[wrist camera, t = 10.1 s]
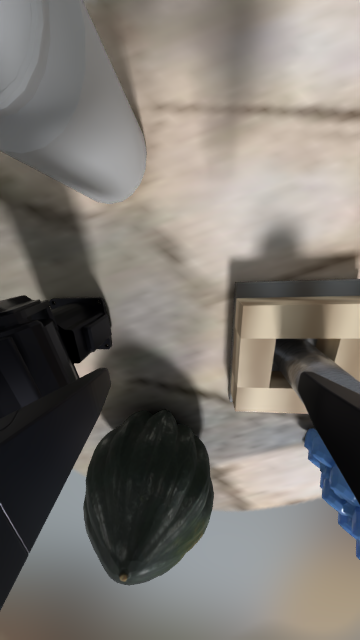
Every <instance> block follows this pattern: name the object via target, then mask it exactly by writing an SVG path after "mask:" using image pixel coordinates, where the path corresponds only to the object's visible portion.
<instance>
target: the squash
mask: <svg viewBox="0 0 360 640" xmlns="http://www.w3.org/2000/svg"><path fill="white" fill-rule="evenodd" d="M213 498H214V492H213V485H212V481H211V478H210V465H209V457H208V453H207V450H206V448H205V446H204V444H203V443H202V441H201V440H200V439H199V438H198V437H196V436H194V434H193V432H192V430H191V429H190V428H189V427H188V426H186V425H184V424H178V425H177V423H176V420H175V419H174V417H173V416H172V414H171V413H170V412H169V411H167V410H162V411H159V412H157V413H156V414H154V415H152V414H151V413H149V412H148V411H140V412H137V413H135V414H133V415H131V416H130V417H129V418H128V419H127V420H126V421H125V422H124V424H123V425H121V426H119V427H117V428H116V429H114V430H112V431H110V432H109V433H108V434H107V435H106V436H105V437H104V438H103V439H102V440H101V441H100V442H99V444H98V445H97V447H96V449H95V451H94V453H93V456H92V459H91V461H90V464H89V467H88V471H87V477H86V495H85V501H84V507H83V509H84V520H85V526H86V531H87V534H88V537H89V539H90V541H91V544H92V546H93V548H94V550H95V552H96V554H97V556H98V558H99V560H100V562H101V564H102V566H103V567H104V569H105V571H106V572H107V574H108V575H109V577H110V578H111V579H113V580H114V581H116V582H117V583H120V584H124V585H134V584H140V583H144V582H147V581H150V580H151V579H154V578H156V577H158V576H160V575H162V574H164V573H166V572H167V571H169V570H170V569H171V568H172V567H173V566H175V565H176V564H177V563H178V562H179V561H180V560H181V559H182V558H183V556H184V555H185V553H186V552H188V551H189V550H190V549H191V548H192V547H193V546H194V545H195V544H196V543H197V542H198V541H199V540H200V538H201V537H202V535H203V534H204V532H205V530H206V528H207V525H208V523H209V519H210V515H211V512H212V507H213Z"/></svg>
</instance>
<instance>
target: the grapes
mask: <svg viewBox="0 0 360 640" xmlns="http://www.w3.org/2000/svg"><path fill="white" fill-rule="evenodd" d="M304 446H305V447H306V448H307V449H308V450H309V453H308V459H309V460H310V461H311V462H312V463H313V464H315V465H316V466H317V467H318V468H320V471H321V472H322V473H321V480H320V487H321V488H322V498H323V499H324V500H325V501H326V502H327V503H328V504H329V505H330V506H332V507H333V508H334V509H336V511H338V524H339V525H340V526H341V527H342V528H343V529H344V530H345V531H347V532H348V533H349V534H350V535H351V536H353V537H354V538H355V539H356V556H357V557H358V559H359V560H360V505H359V503H358V501H357V499H356V498H355V496H354V494H353V492H352V491H351V489H350V487H349V486H348V484H347V482H346V480H345V479H344V477H343V475H342V473H341V472H340V470H339V468H338V467H337V465H336V463H335V461H334V460H333V458H332V456H331V454H330V453H329V451H328V449H327V448H326V446H325V444H324V442H323V441H322V439H321V437H320V435H319V434H318V432H317V430H316V429H313V428H312V429H309V430H308V431H307V433H306V436H305V445H304Z"/></svg>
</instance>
